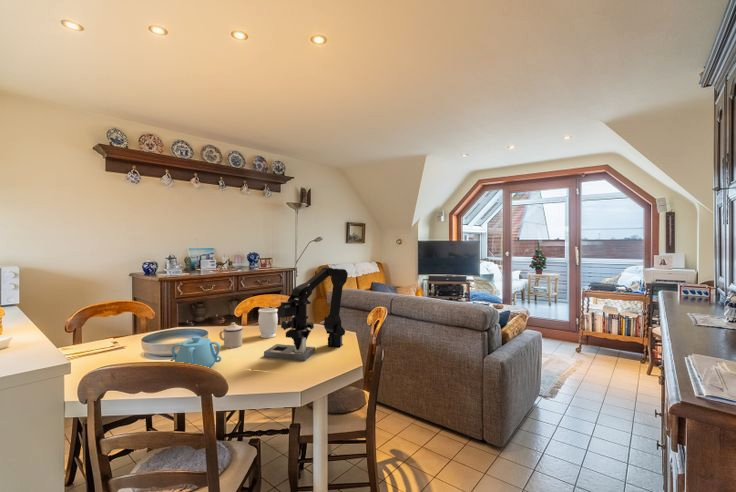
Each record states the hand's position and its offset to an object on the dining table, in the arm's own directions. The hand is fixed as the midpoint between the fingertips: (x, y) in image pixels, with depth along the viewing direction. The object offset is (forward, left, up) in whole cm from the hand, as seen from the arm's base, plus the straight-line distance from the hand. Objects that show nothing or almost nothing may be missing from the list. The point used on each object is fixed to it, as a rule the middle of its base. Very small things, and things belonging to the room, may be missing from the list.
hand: (300, 348), depth 158 cm
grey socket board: (+5, 0, -4) cm, 6 cm away
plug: (0, 0, -4) cm, 4 cm away
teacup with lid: (+41, -7, -4) cm, 42 cm away
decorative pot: (+35, +25, -4) cm, 43 cm away
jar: (+31, -27, -4) cm, 41 cm away
